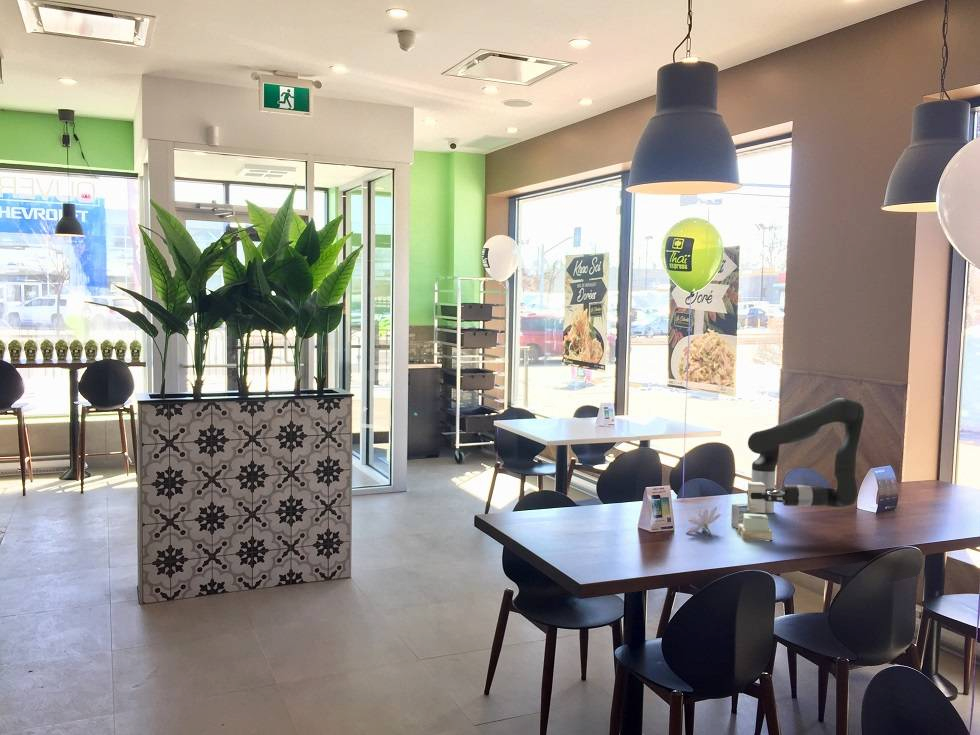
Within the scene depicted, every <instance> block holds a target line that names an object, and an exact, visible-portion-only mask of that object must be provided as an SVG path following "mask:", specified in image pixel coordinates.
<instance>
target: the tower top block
mask: <svg viewBox="0 0 980 735" xmlns="http://www.w3.org/2000/svg"><path fill="white" fill-rule="evenodd" d="M743 526H744V529H749V530H763V531H768V528H769V519H768V516H767V514H762V513H756V514H746V513H743Z"/></svg>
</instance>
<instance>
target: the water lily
mask: <svg viewBox="0 0 980 735" xmlns="http://www.w3.org/2000/svg"><path fill="white" fill-rule="evenodd" d="M717 509H718V506H715V507H714V508H713V509H711V511H710V510H708V509H707V508H705V509H704V510H703V509H700V510H699V511H698V516H699V517H695V516H691V517H690V519H689V520H688V523H691V524H693V525H695V526H691V527H689V528H688V530H687V531H686V532H685V534H686V535H688V534H691V533H694V532H697V531H699V530H700V529H701V531H704V532H705V531H706V530H707V532H708V533H709V536H710V537H713V535H712V532H711V530H710V528H709V525H711V524H712V523H714V522H715V521H716V520H718V519H719V518H720V517H721V514H720V513H719V514H716V511H717Z"/></svg>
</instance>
